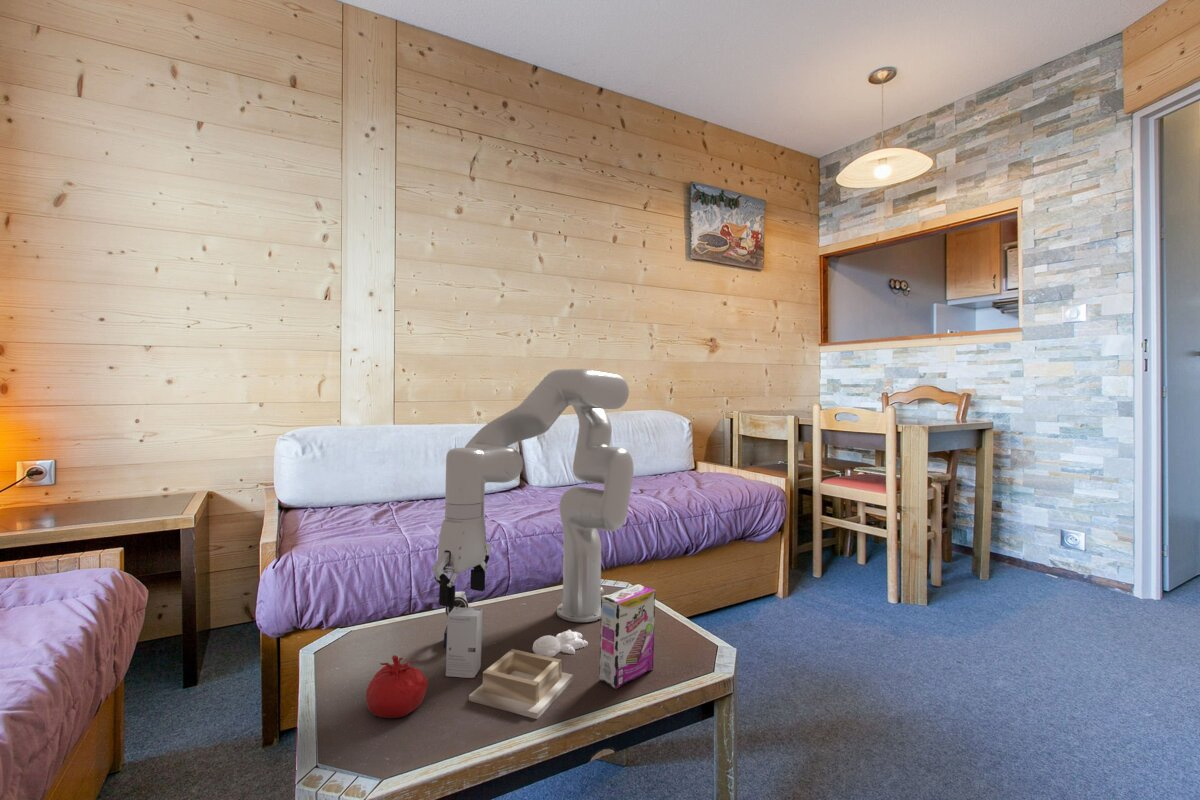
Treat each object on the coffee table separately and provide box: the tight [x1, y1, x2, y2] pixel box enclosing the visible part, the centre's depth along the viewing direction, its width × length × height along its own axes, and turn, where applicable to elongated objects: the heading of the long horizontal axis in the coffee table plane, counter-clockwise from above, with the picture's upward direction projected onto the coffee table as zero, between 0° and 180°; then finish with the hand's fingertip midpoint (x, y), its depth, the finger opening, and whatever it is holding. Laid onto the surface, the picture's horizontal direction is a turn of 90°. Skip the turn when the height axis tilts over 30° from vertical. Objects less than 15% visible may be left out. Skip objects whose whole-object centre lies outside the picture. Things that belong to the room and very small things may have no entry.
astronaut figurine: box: [532, 629, 589, 658], centre depth 121 cm, size 9×12×3 cm
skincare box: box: [445, 607, 483, 679], centre depth 109 cm, size 6×4×12 cm
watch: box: [443, 591, 472, 649], centre depth 122 cm, size 6×8×11 cm
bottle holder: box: [468, 648, 574, 720], centre depth 103 cm, size 14×14×4 cm
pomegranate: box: [365, 654, 428, 719], centre depth 96 cm, size 10×10×9 cm
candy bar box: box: [598, 584, 656, 689], centre depth 108 cm, size 11×5×16 cm, turn 134°
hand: (462, 597), depth 108 cm, fingers open, 9 cm apart
